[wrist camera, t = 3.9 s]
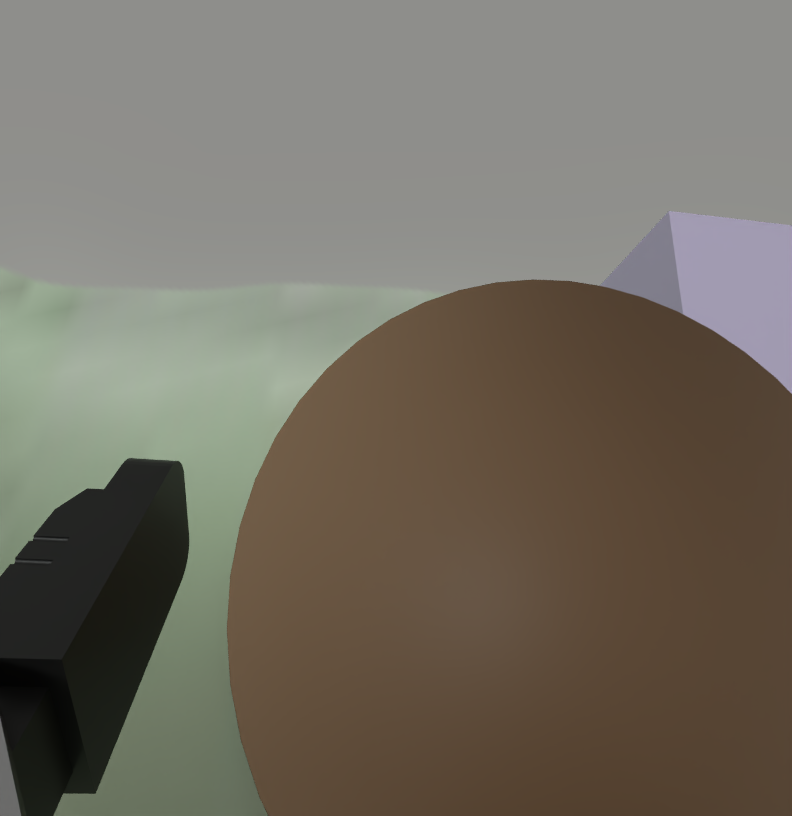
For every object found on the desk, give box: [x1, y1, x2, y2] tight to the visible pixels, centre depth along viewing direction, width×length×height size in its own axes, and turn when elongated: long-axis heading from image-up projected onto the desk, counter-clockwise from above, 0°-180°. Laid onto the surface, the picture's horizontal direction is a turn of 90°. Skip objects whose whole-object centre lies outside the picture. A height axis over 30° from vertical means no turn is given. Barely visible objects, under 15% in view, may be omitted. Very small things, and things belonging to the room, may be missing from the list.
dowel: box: [227, 280, 792, 816], centre depth 10 cm, size 4×4×14 cm
